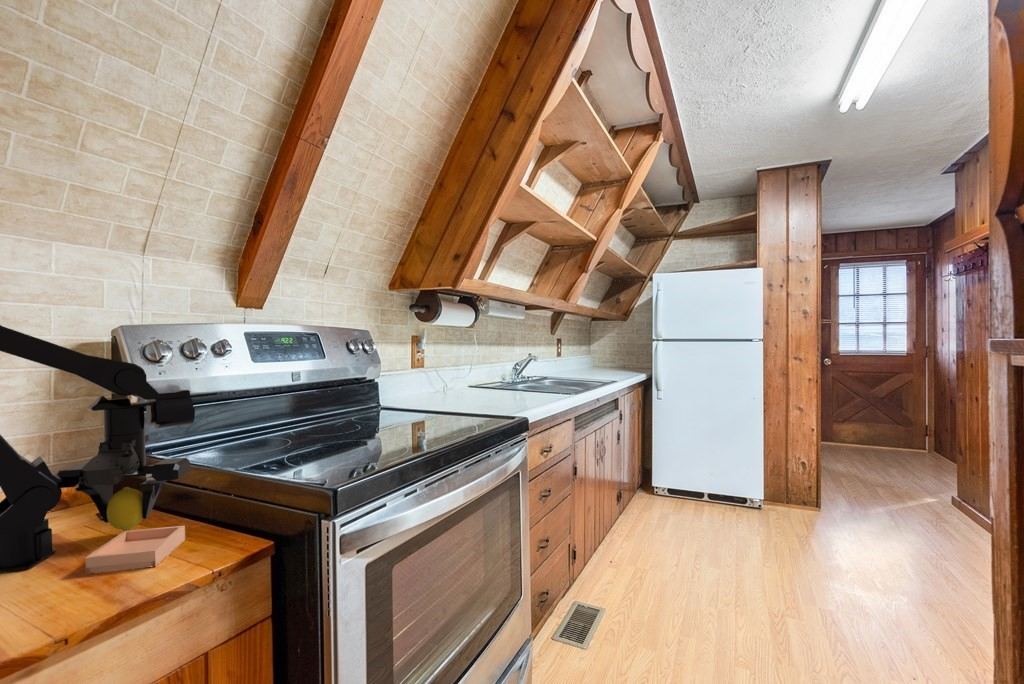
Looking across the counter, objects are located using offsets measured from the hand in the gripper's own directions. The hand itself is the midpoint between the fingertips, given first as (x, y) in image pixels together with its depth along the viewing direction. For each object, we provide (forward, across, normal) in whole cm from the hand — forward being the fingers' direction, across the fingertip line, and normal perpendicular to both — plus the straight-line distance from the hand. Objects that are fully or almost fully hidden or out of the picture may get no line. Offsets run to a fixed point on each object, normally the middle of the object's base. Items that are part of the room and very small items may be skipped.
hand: (126, 520), depth 87 cm
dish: (+3, +6, -10) cm, 12 cm away
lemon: (+2, 0, 0) cm, 2 cm away
